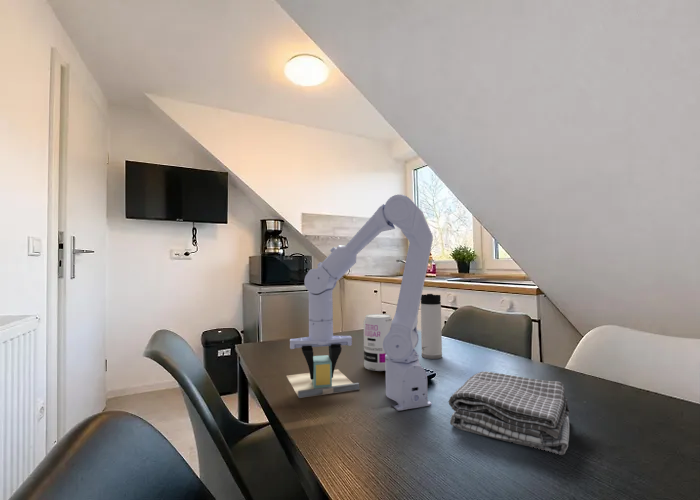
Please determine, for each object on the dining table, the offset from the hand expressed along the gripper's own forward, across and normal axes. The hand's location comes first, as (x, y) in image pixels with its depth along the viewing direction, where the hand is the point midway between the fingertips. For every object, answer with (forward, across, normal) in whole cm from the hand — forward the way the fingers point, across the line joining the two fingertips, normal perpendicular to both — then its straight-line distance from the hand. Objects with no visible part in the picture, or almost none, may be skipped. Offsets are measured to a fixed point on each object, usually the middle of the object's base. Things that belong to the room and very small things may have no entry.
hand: (321, 377), depth 83 cm
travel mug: (+3, +37, +21) cm, 43 cm away
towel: (+3, +32, -26) cm, 41 cm away
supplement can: (+3, +17, +12) cm, 21 cm away
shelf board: (+3, 0, +3) cm, 4 cm away
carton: (+2, 0, 0) cm, 2 cm away
